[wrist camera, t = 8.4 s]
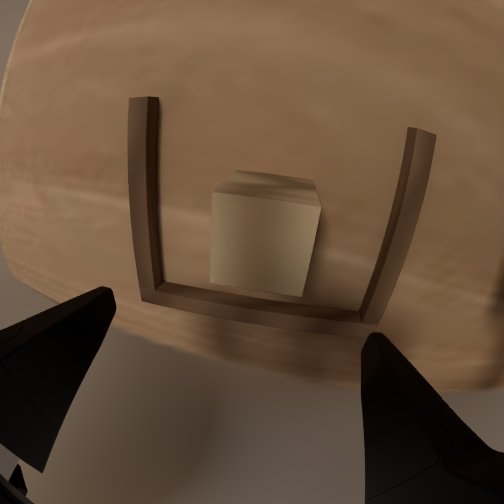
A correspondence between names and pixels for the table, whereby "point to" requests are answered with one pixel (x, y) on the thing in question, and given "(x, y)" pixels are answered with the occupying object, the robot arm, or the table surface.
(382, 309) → the bay
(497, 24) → the table surface
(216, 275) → the oak block
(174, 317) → the table surface
